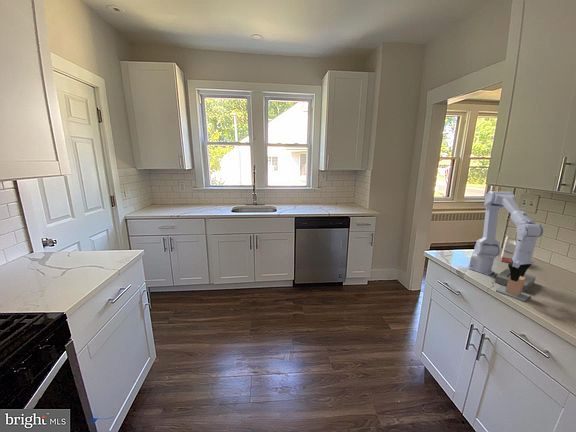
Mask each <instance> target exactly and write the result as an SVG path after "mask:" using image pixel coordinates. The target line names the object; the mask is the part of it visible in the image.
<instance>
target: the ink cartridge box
mask: <svg viewBox="0 0 576 432" xmlns="http://www.w3.org/2000/svg"><path fill="white" fill-rule="evenodd" d="M508 239H509V237H508V235H506V237H505V240H504V243H503V247H502V250H501V255H500V260H501V262H505V263H508V264H509V263H510V264H513V260H512V257H513V256H514V252H515V248H516V244H517V241H515V240H508Z"/></svg>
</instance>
